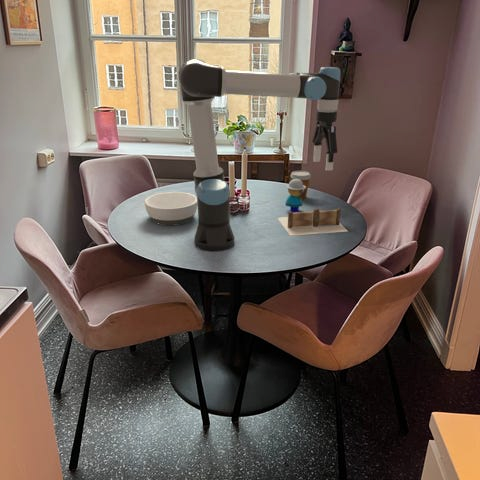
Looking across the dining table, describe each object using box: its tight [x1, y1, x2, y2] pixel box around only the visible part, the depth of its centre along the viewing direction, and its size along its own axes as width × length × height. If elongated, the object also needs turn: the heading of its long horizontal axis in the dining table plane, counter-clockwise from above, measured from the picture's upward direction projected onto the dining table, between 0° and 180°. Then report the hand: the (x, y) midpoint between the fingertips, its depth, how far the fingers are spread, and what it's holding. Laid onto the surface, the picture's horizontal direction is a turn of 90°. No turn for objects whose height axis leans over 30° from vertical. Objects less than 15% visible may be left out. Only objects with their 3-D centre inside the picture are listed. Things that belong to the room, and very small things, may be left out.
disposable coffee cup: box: [290, 170, 312, 200], centre depth 232 cm, size 10×10×12 cm
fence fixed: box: [312, 207, 342, 227], centre depth 198 cm, size 12×2×7 cm, turn 101°
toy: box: [285, 179, 306, 213], centre depth 213 cm, size 8×9×15 cm
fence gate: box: [287, 210, 313, 228], centre depth 196 cm, size 10×2×6 cm, turn 101°
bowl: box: [144, 191, 198, 226], centre depth 206 cm, size 22×22×8 cm
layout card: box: [277, 216, 348, 237], centre depth 200 cm, size 24×20×1 cm
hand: (322, 165), depth 191 cm, fingers open, 13 cm apart
